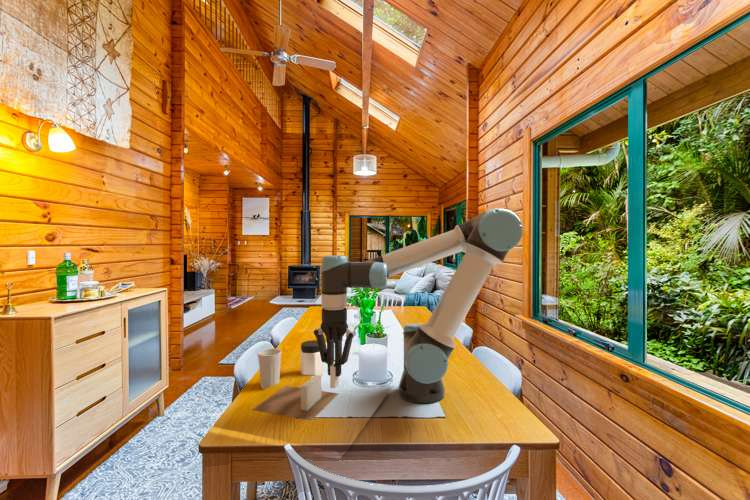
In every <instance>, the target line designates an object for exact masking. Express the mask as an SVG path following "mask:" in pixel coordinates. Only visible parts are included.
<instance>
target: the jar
mask: <svg viewBox="0 0 750 500" xmlns="http://www.w3.org/2000/svg"><path fill="white" fill-rule="evenodd" d="M324 363H325V362H322V361H321V356H320V352H319V347H318V342H317V339H316V340H313V339H312V340H306V341H303V342H301V343H300V373H301V375H302V376H311V377H314V376H315V375H319V376H321V377H322V376H324V373H325V368H324V365H325V364H324Z"/></svg>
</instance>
